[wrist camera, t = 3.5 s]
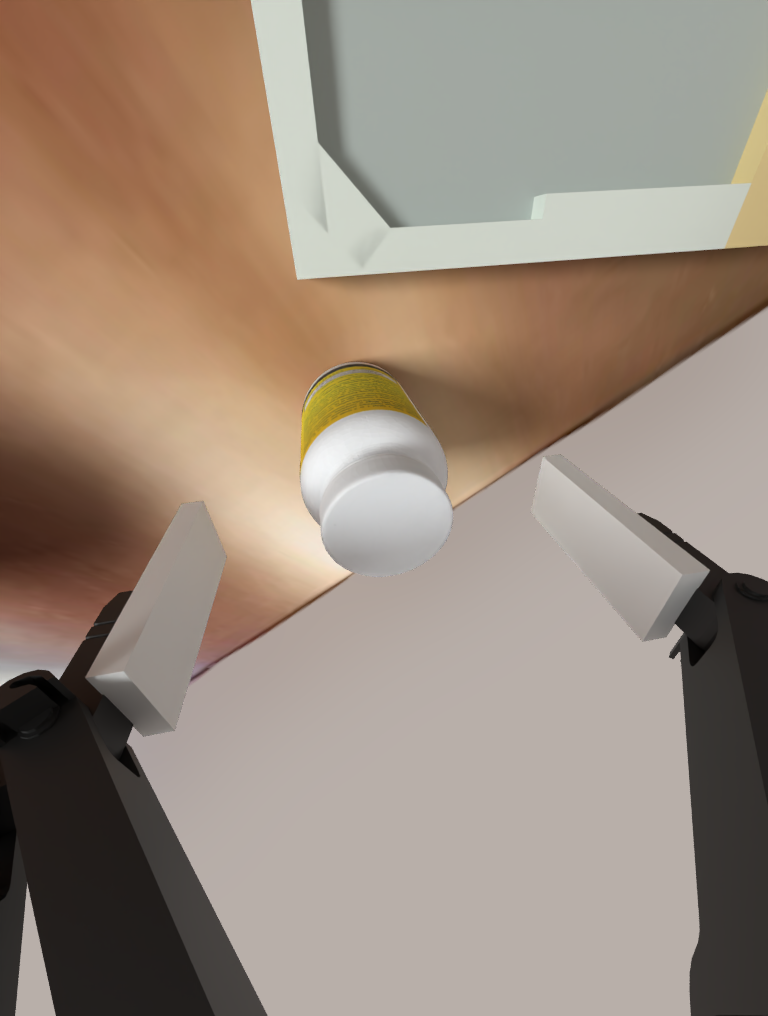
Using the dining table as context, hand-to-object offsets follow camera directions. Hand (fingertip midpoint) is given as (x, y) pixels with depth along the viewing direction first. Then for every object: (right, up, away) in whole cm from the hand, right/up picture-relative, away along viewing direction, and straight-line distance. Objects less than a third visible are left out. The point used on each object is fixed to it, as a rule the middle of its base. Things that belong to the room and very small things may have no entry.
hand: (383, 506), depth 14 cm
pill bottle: (-2, +6, +7) cm, 9 cm away
